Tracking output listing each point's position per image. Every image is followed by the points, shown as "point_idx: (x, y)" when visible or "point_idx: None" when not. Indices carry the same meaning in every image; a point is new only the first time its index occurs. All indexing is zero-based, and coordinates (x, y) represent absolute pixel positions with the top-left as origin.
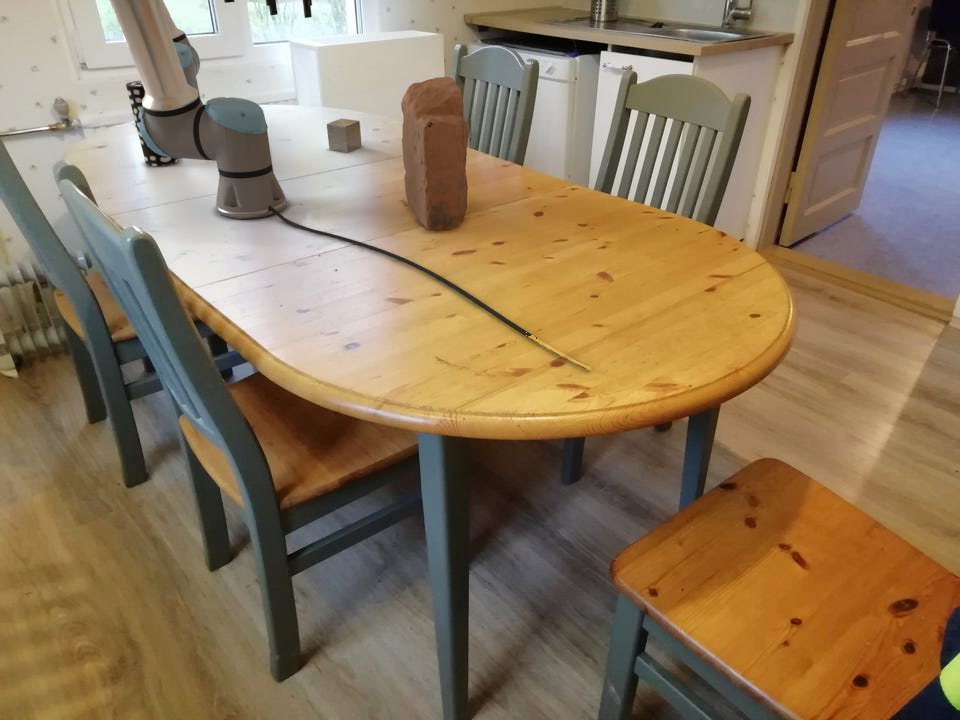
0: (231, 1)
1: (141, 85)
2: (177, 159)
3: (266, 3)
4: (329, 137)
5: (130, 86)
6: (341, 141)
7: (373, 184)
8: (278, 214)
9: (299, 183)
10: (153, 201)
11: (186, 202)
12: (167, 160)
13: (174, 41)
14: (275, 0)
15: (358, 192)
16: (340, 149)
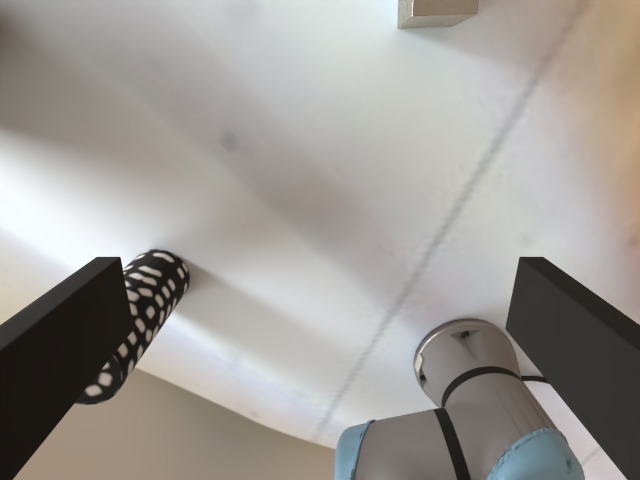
0: (124, 289)
1: (98, 387)
2: (182, 264)
3: (514, 337)
4: (409, 22)
5: (89, 404)
6: (445, 22)
7: (599, 192)
8: (528, 380)
9: (466, 249)
10: (315, 397)
11: (360, 382)
12: (186, 288)
13: None
14: (559, 272)
15: (588, 239)
16: (433, 26)
